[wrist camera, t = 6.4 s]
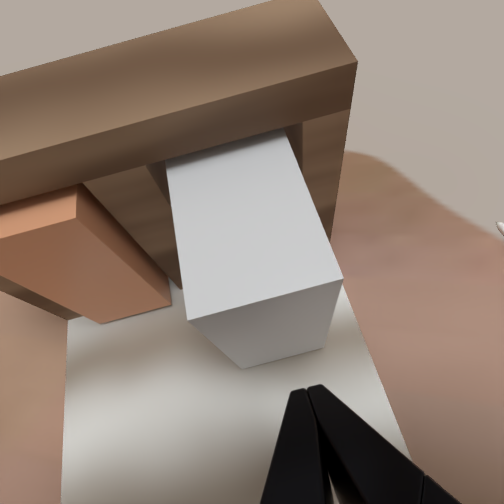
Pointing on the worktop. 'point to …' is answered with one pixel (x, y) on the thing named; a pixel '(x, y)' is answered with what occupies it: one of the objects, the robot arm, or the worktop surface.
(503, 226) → the unicorn horn
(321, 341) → the grey plug
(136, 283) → the terracotta plug
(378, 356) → the worktop surface
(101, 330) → the socket block
